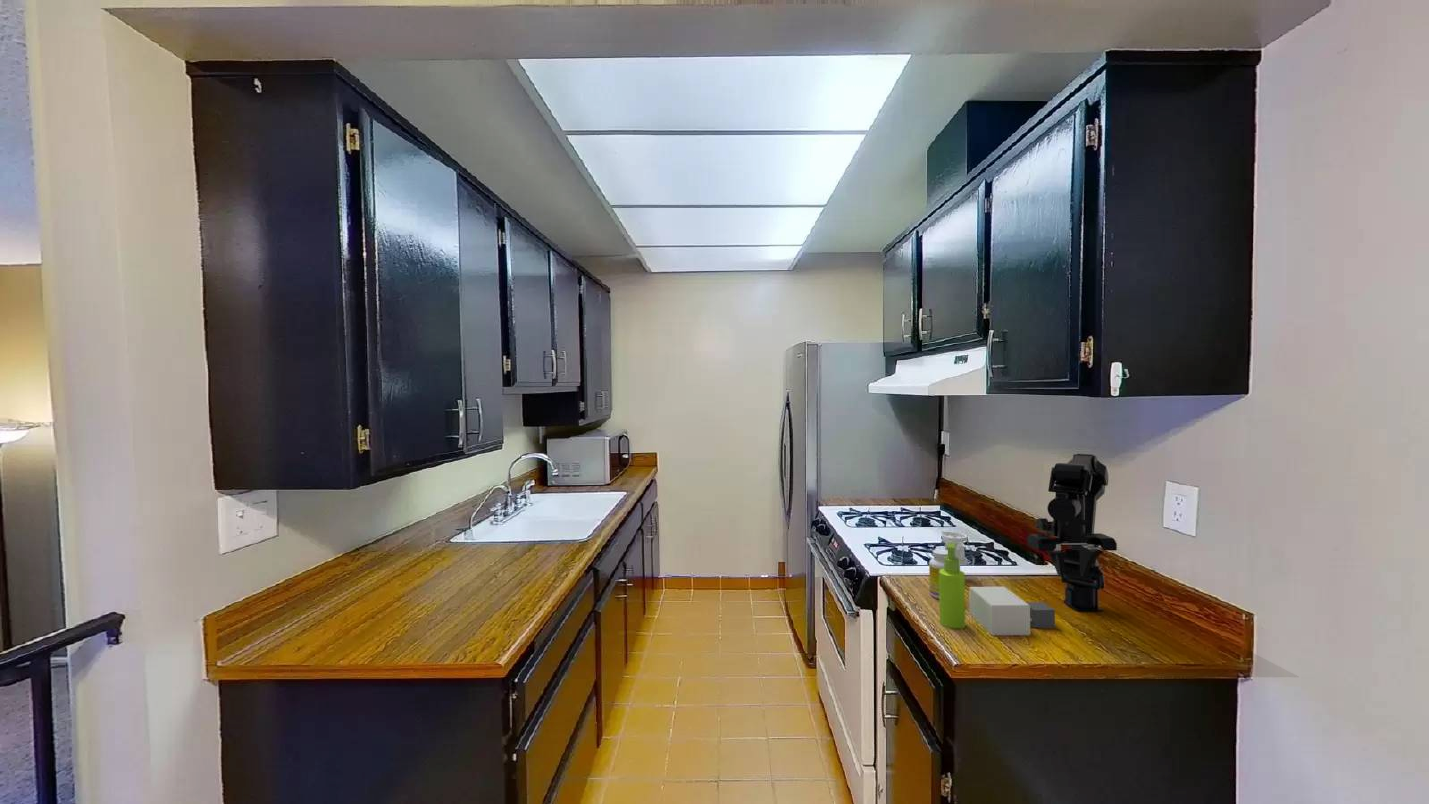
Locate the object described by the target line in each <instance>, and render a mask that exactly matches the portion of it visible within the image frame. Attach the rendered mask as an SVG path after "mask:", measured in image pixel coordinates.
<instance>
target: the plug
mask: <svg viewBox="0 0 1429 804" xmlns="http://www.w3.org/2000/svg"><path fill="white" fill-rule="evenodd" d="M1026 603H1027V604H1028V605H1029V606H1030V627H1032V628H1033V629H1056V612H1055V611H1056V610H1055V609H1054V608H1052V607H1051V606H1050V605H1048V604H1047V603H1046V602H1043V601H1041V602H1039V601H1038V602H1037V601H1035V602H1029V601H1028V602H1026Z"/></svg>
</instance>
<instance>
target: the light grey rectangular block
mask: <svg viewBox="0 0 1429 804" xmlns="http://www.w3.org/2000/svg"><path fill="white" fill-rule="evenodd" d="M968 591H969V593H968V594H969V596H968V597H969V615H971V616H972V617H973V618H974V620H976V621H977V622H978V623H979V625H981V627H982V628H984V629H985V630H986V631H987V632H988V633H989V635H991V636H1031V625H1030V606H1029V605H1028V604H1027V603H1028V602H1026V601H1025V600H1023V599H1021V598H1020V597H1019V596H1018V595H1016V594H1014V593H1013V592H1012V591H1010V590H1009V589H1008V588H1007V587H1005V586H970V587H969V589H968Z"/></svg>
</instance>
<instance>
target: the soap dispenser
mask: <svg viewBox="0 0 1429 804" xmlns="http://www.w3.org/2000/svg"><path fill="white" fill-rule="evenodd" d="M956 545H957V543H950V542H949V543H948V544H947V549H948V556H946V557H944V569H940V570H939V599H938V600H939V603H938V605H939V623H940V624H941V625H943V626H944V627H946V628H951V629H963V628H964V627H966V598H965V597H966V594H965V593H966V592H965V591H966V589H965V587H966V586H965V584H966V583H965V572H964V571H962V570H961V569H960V570H959V559H958V558H956V557H955V548H956Z"/></svg>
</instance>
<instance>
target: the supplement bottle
mask: <svg viewBox="0 0 1429 804" xmlns="http://www.w3.org/2000/svg"><path fill="white" fill-rule="evenodd" d="M932 556H933V558H931V559H930V560H929V562H928V563H929V571H928V572H929V581H928V582H929V594H930V596H931V597H933V598H935V599H938V600H939V570H940V569H944V557H946V556H948V551H947V550H945V549H942V548H941V549H940V548H936V549H933V551H932Z"/></svg>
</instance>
